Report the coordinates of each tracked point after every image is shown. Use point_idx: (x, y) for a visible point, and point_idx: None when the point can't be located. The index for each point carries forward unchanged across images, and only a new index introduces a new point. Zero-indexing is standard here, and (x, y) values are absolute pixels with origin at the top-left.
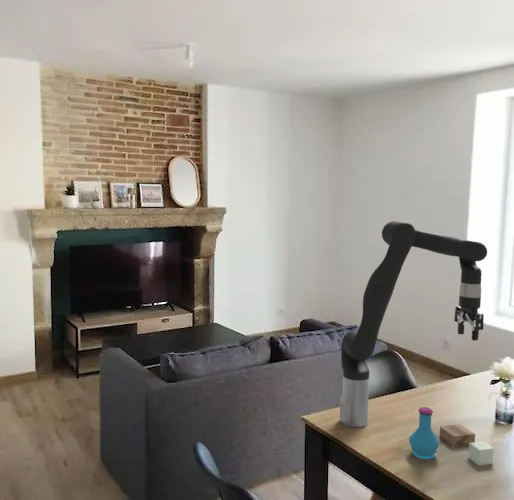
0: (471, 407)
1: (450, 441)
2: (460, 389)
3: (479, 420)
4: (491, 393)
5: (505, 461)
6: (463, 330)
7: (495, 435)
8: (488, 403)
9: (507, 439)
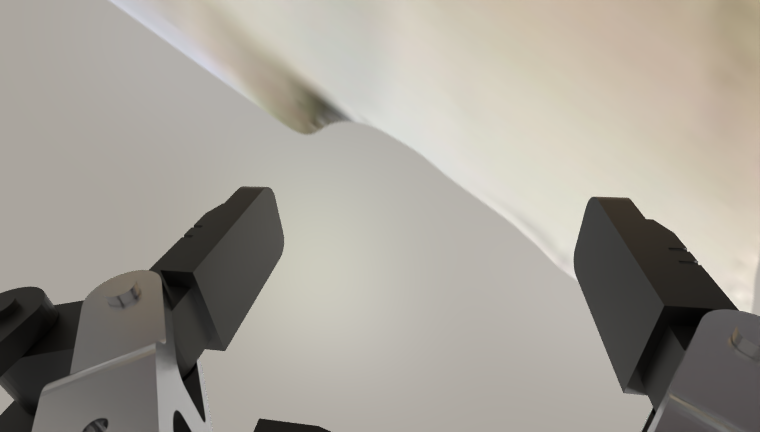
0: (473, 107)
1: None
2: (656, 182)
3: (352, 58)
4: (562, 258)
5: None
6: (589, 296)
7: (225, 33)
8: (486, 192)
9: (197, 56)
